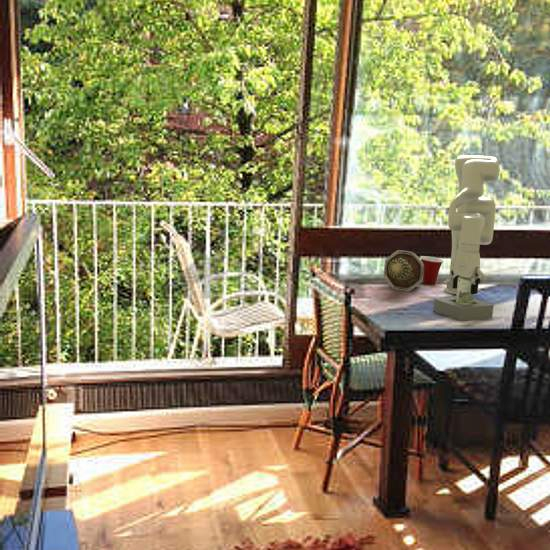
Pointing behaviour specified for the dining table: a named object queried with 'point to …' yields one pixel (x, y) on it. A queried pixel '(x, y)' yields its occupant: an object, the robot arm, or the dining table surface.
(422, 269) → the potted plant
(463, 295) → the syrup box
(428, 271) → the plastic cup
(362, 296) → the dining table surface
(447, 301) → the socket stand
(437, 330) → the dining table surface
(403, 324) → the dining table surface
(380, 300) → the dining table surface
